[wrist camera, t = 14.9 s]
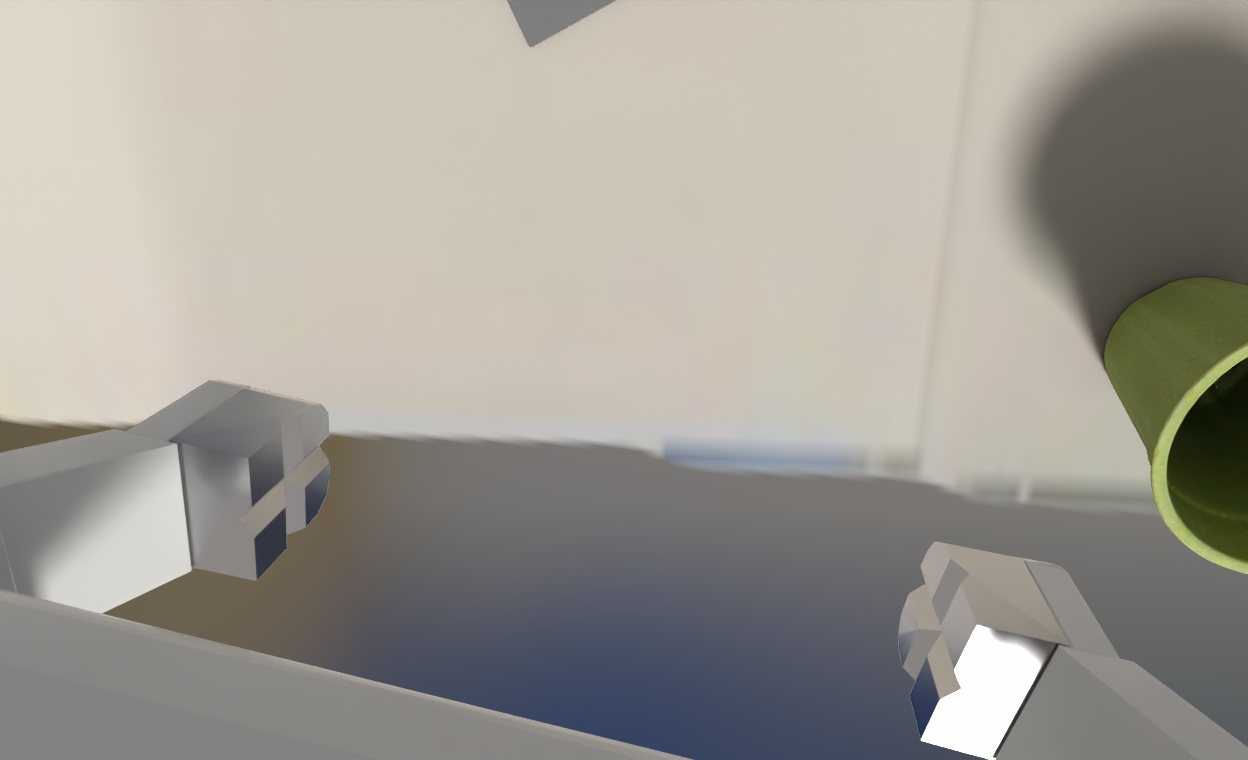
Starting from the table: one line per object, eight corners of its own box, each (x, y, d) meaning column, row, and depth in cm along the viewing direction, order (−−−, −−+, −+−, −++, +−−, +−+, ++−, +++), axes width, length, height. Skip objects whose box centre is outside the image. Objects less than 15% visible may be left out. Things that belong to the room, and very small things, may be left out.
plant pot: (1040, 265, 38) (1148, 347, 27) (1317, 202, 35) (1553, 268, 24) (1060, 464, 42) (1160, 599, 32) (1309, 423, 39) (1507, 557, 29)
